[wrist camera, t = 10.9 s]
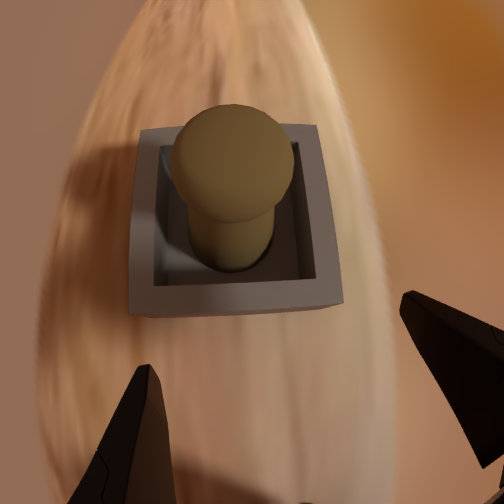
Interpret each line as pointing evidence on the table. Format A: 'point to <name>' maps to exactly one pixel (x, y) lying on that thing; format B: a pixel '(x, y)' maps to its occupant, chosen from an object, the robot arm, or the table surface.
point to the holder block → (241, 283)
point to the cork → (231, 183)
